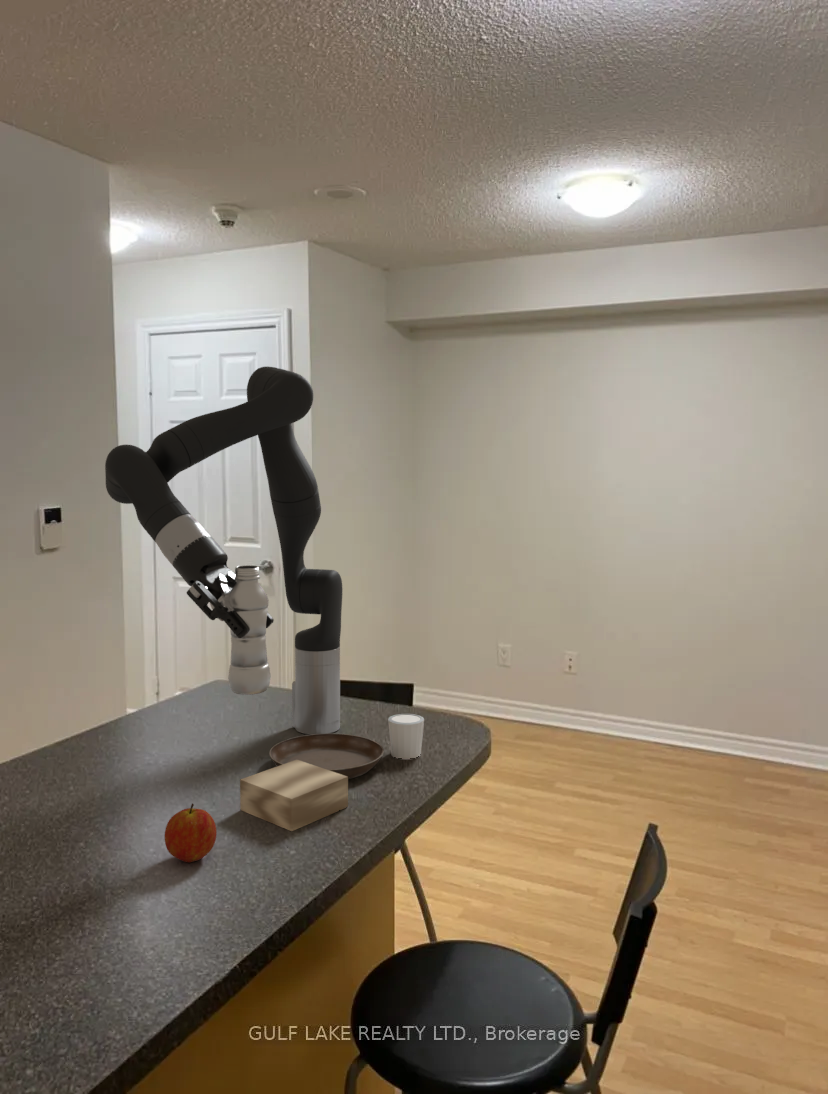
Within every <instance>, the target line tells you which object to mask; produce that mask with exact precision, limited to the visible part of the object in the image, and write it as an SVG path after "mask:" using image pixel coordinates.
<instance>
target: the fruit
mask: <svg viewBox="0 0 828 1094" xmlns="http://www.w3.org/2000/svg"><path fill="white" fill-rule="evenodd" d="M217 832H218V831H217V826H216V823H215V820H214V818H213V817H212V815H211V814H210V813H209V812H208V811H206V810H204V809H202V808H194V803H191V804H190V807H189V808H187V807H186V808H184V809H182V810H180V811H178V812H176V813H175V814H173V815H172V816H171V817H170V818H169V820H168V821H167V824H166V826H165V830H164V844H165V848H166V850H167V851H168V853H169V854H170V855H171V856H172V857H174V858H176V859H178V860H180V861H182V862H184V863H189V864H190V863H192V862H193V863H194V862H196V861H197V862H198V861H199V860H201V859H203V858H204V857H205V856H207V855H208V854H209V853H210V852H211V851H212V849H213V847H214V846H215V844H216V840H217Z"/></svg>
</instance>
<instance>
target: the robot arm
mask: <svg viewBox="0 0 828 1094" xmlns="http://www.w3.org/2000/svg"><path fill="white" fill-rule="evenodd" d="M246 399H247V401H246V402H244V403H241V404H238V405H235V406H233V407H229V408H224V409H221V410H216V411H212V412H209V413H205V414H202V415H199V416H198V415H197V416H194V417H192V418H190V419H187V420H185V421H183V422H182V423H179V424H177V425H175V426H173V427H171V428H169V429H168V430H166V431H163V432H161V433H160V434H158V435H156V437H155V438H154V439H153V440H152V443H151V444H150V447H149V448H148V449H147V451H145V450H143V449H142V448H140V447H139V446H136V445H134V444H133V445H132V444H121V445H117V446H115V447H114V448H112V449H111V450H110V451H109V453H108V454H107V457H106V458H105V459H106V460H105V464H104V465H105V466H104V468H105V469H104V470H105V471H104V472H105V474H104V475H105V490H106V491H107V494H108V495H109V497H110V498H111V499H113V501H114V502H115V501H116V502H117V503H121V504H126V505H130V504H131V505H133V508H134V510H135V513H136V517H137V520H138V522H139V524H140V525H141V527H142V528H143V529H144V530H145V531H146V533H147V534H148V535H149V537H151V539H152V540H153V541H154V542H155V544H156V546H157V547H158V548H159V550H160V552H161V553H162V555H163V556H164V557H165V558H166V559H167V561H168V562H169V563H170V564H171V566H172V567H173V568H174V569H175V571H176V572H177V573H178V574H179V575H180V576H181V578H182V579H183V580H184V581H185V583H186V584H187V585H188V586H189V587H190V588H188V589H187V591H186V595H187V596H188V597H189V598H190V600H191V601H193V603H194V604H195V605H196V606H197V607H198V608H199V609H200V611H202V612H203V613H204V614H205V615H206V616H207V618H208V619H210V620H211V621H215V620H216V619H218V620H219V621H221V622H224V623H225V624H226V625H227V626H228V628H229V630H230V629H231V630H232V631H233V632H234V634H236V636H237V637H238V638H242V637H244V636H245V635H246V634H247V633H248V632H249V631H250V628H249V626H248V625H247V624H246V623H245V622H244V620H243V619H242V618H241V617H240V616H239V614H238V613H237V612H236V611H234V612H232V611H233V610H234V609H233V607H232V605H231V604H230V601H229V600H230V592H231V590H232V588H233V587H234V586H235V584H236V581H237V580H235V571H233V570H232V569H230V567H228V565H227V562H228V559H229V558H228V554H227V553H226V552H225V551H224V550H223V548H222V547H221V546H220V545H219V544H218V542H217V541H216V540H215V538H213V536H212V535H211V534H210V533H209V531H208V530H207V529H206V528H205V527H204V526H203V524H201V523H200V521H198V520H197V519H196V517H194V516H193V515H192V514H191V513H190V512H189V510H188V509H187V508H186V507H185V505H184V504H183V503H182V502H181V501H180V500H179V499H178V498H177V497H176V495H175V494H174V493H173V491H172V490H171V487H170V486H169V484H168V483H169V482H170V481H172V480H173V479H174V477H175V476H177V475H178V474H179V473H181V472H183V471H185V470H188V469H189V468H191V467H192V466H195V465H197V464H198V463H201V462H203V461H204V460H206V459H207V458H209V457H211V456H213V455H215V454H217V453H219V452H221V451H223V450H226V449H227V448H229V447H232V446H233V445H236V444H240V443H241V442H244V441H246V440H249V439H251V438H253V437H256V436H257V438H258V441H259V445H260V449H261V454H262V459H263V463H264V464H263V465H264V469H265V473H266V477H267V478H266V479H267V484H268V489H269V495H270V503H271V507H272V512H273V516H274V520H275V525H276V530H277V534H278V540H279V546H280V552H281V561H282V570H283V580H284V589H285V596H286V601H287V604H288V606H289V608H290V610H291V611H292V612H294V613H297V614H305V615H320V620H319V623H317V624H315V626H313V627H309V628H306V629H303V630H300V631H298V632H297V633H296V634H295V636H294V667H295V668H294V674H295V675H294V677H295V679H294V681H292V683H291V709H292V710H291V711H292V712H291V717H292V718H291V720H292V721H291V722H292V723H291V726H292V728H295V730H296V731H297V732H299V733H302V734H305V735H311V734H329V733H330V734H333V733H335V732H337V731H339V729H340V727H341V632H342V608H343V607H342V605H343V580H342V577H341V575H340V573H339V572H338V571H337V570H335V569H322V568H321V569H319V568H317V569H316V568H315V569H314V568H307V567H306V566H305V562H304V559H305V558H304V555H305V554H304V553H305V549H306V546H307V544H308V541H309V540H310V538H311V537H312V535H313V532H314V531H315V529H316V527H317V525H318V523H319V520H320V519H321V518H320V517H321V514H322V506H321V505H322V504H321V499H320V493H319V487H318V483H317V482H318V481H317V479H316V476H315V473H314V472H313V469H312V467H311V465H310V464H309V462H308V460H307V458H306V456H305V454H304V453H303V450H301V448H300V446H299V444H298V442H297V439H296V437H295V433H294V429H293V425H292V424H293V423H297V422H298V421H300V420H302V419H303V418H304V417H305V416H306V415H307V414H308V413H309V412H310V410H311V408H312V406H313V402H314V389H313V387H312V384H311V383H310V382H309V380H308V379H307V378H306V377H304V376H303V375H301V374H299V373H297V372H294V371H291V370H288V369H284V368H278V367H274V366H261V367H259V368H257V369H255V370H254V371H253V373H251V375H250V377H249V379H248V381H247V385H246ZM208 604H209V605H210V607H211V608H210V607H209V605H208ZM274 621H275V620H274V618H273V616H272V615H271V614H270V613H269V611H268V612H267V621H266V629H269V627H270V626H271V625H272V624H273V623H274Z"/></svg>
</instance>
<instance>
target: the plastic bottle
mask: <svg viewBox="0 0 828 1094" xmlns="http://www.w3.org/2000/svg"><path fill="white" fill-rule="evenodd" d="M234 573H235V580H237V581H236V584H235V586H234V587H233V588H232V590H231V592H230V600H229V601H230V604H231V605H232V607H233V609H234V610H233V611H232V612H234V611H236V612H237V613H238V614H239V616H240V617H241V618H242V619H243V620H244V622H245V623H246V624H247V625H248V626H249V628H250V631H249V632H248V633H247V634H246V635H245V636H244V637H242V638H238V637H237V636H236V634H234V632H233V631H232V630H231V629H230V628H229V630H230V642H231V645H230V646H231V647H230V648H231V649H230V665H229V668H228V669H229V670H228V676H227V679H228V684H229V685H228V686H229V688H230V690H231V691H232V692H233V693H234V694H236V695H240V696H241V695H242V696H244V695H245V696H248V695H249V696H251V695H257V694H263V693H264V692H266V691H267V689H268V688H269V687H270V682H271V670H270V669H271V668H270V665H269V662H268V661H269V659H268V651H267V643H266V639H267V636H266V634H267V628H266V621H267V612H268V613H269V611H268V610H269V597H268V594H267V593H266V590H265V589H264V588H263V587H262V586H261V584H260V583H259V580H260V579H261V577H260V567H259V566H258V565H252V564H251V565H237V566H235V568H234Z"/></svg>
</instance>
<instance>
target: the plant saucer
mask: <svg viewBox="0 0 828 1094" xmlns="http://www.w3.org/2000/svg"><path fill="white" fill-rule="evenodd" d="M268 755H269V757H270V760H271V761H272V762H273V764H274V765H275V767H277V766H280V765H283V764H286V763H288V762H291V761H294V760H300V761H303V762H306V763H309V764H312V765H315V766H318V767H321V768H324V769H327V770H330V771H333V772H336V773H339V774H342V775H345V776H348V780H350V779H355V778H358V777H361V776H362V775H364V774H367V773H369V772H370V770H372V769H373V768H374V767H375V766H376V765H377V764H378V763H379V761H380V760H381V758H382V757H383V755H384V748H383V746H382V745H381V744H380V743H378V742H377V741H376V740H373V739H370V738H368V737H364V736H358V735H354V734H349V733H348V734H345V733H327V734H305V735H300V736H294V737H290V738H288V739H284V740H282V741H280V742H278V743H276V744H274V745H273V746H272V747H271V748H270V750H269V754H268Z"/></svg>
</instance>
